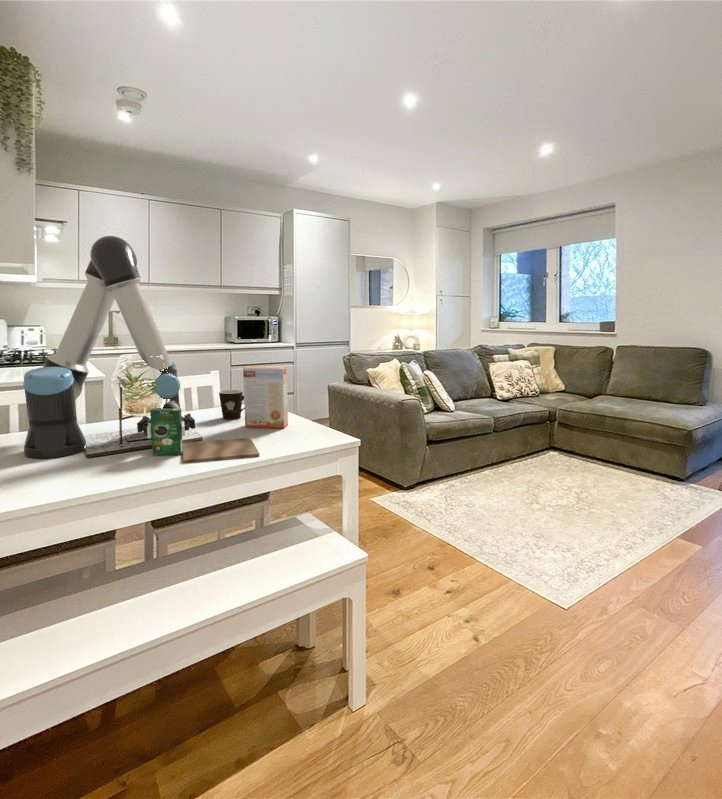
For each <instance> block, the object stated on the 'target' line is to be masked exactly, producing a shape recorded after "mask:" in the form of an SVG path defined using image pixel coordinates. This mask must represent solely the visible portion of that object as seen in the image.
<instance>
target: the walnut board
mask: <svg viewBox="0 0 722 799" xmlns="http://www.w3.org/2000/svg"><path fill="white" fill-rule="evenodd" d="M182 455H183V457H182V458H183V464H190V463H200V462H211V461H212V460H213V461H221V460H223V459H224V460H234V458H235V459H243V458H244V457H246V458H254V457H253V456H257V457H260V452H259V451H258V449H257V447H256V445H255V443H254V441H253V440H252V438H251V437H245V438H244V437H243V438H228V439H219V440H217V439H216V440H205V441H204V440H203V441H202V440H201V441H191V442H182Z"/></svg>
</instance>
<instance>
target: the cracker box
mask: <svg viewBox="0 0 722 799" xmlns="http://www.w3.org/2000/svg"><path fill="white" fill-rule="evenodd" d="M287 370H288V368H287V366H255V365H254V366H245V367H243V368H242V372H243V396H244V399H243V403H244V404H243V405H244V407H243V408H245V409H244V426H245V427H244V428H263V429H264V428H265V429H266V428H268V429H285V428H286V427H287V426H288V425H289V409H288V407H289V404H288V403H289V402H288V371H287Z"/></svg>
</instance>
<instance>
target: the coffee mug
mask: <svg viewBox="0 0 722 799" xmlns="http://www.w3.org/2000/svg"><path fill="white" fill-rule="evenodd" d="M218 394H219V396H218V397H219V400H220V402H219V403H220V408H221V413H222V419H223V420H224V421H225V420H226V421H234V420H235V421H236V420H239V419H241V418H242V416H241V415H242V411H245V408H244V407H242V406H243V402H244V390H241V389H226V390H225V389H224V390H220V391H218Z"/></svg>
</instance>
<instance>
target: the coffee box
mask: <svg viewBox="0 0 722 799" xmlns="http://www.w3.org/2000/svg"><path fill="white" fill-rule="evenodd" d="M149 412H150V418H151V454H152V456H177V455H178V456H179V455H180V456H181V455H183V436H182V418H181V415H182V408H180V409H161V408H151V409H150V411H149Z"/></svg>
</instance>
